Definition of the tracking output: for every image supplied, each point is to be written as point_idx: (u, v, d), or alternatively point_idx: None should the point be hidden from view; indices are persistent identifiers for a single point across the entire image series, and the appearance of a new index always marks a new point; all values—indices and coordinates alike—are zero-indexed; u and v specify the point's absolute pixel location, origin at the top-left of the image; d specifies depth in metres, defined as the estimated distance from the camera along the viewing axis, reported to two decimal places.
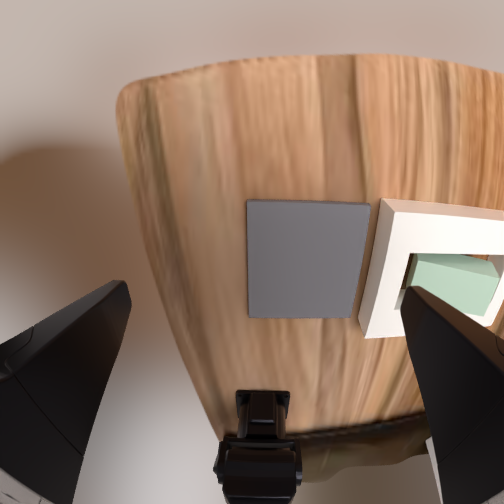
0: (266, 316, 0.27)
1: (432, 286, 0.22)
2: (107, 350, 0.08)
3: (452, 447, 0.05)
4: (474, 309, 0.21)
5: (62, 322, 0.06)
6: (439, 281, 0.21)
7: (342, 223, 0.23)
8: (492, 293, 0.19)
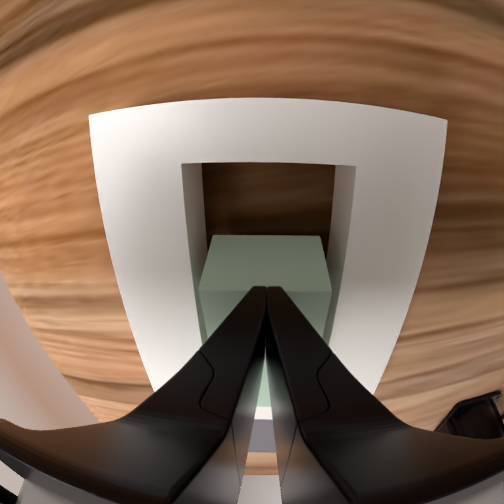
0: None
1: (264, 389, 0.12)
2: (261, 364, 0.07)
3: (282, 473, 0.05)
4: (309, 320, 0.10)
5: (239, 340, 0.06)
6: None
7: None
8: None
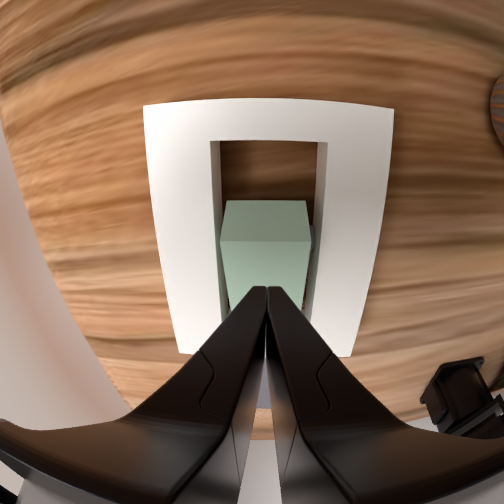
0: None
1: None
2: (261, 364, 0.07)
3: (282, 474, 0.05)
4: (296, 261, 0.14)
5: (239, 340, 0.06)
6: None
7: None
8: (254, 243, 0.13)
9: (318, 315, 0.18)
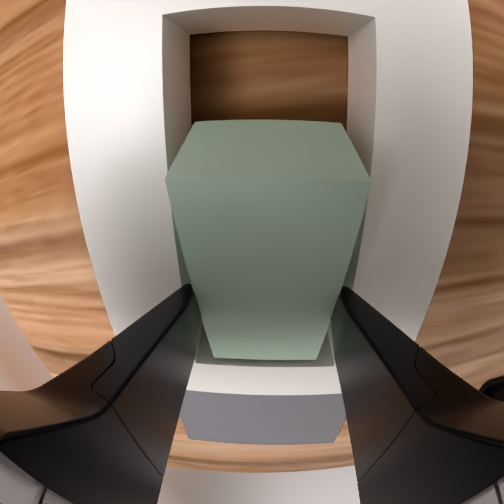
0: (335, 433, 0.18)
1: (266, 337, 0.10)
2: (186, 360, 0.08)
3: (367, 466, 0.05)
4: (334, 230, 0.06)
5: (148, 334, 0.06)
6: (248, 329, 0.10)
7: None
8: (242, 183, 0.06)
9: None
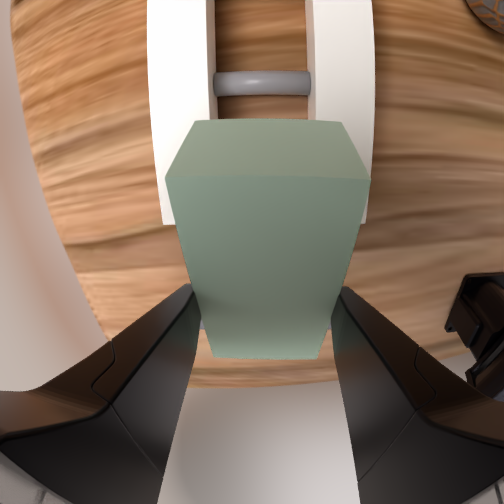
0: None
1: (266, 336, 0.10)
2: (186, 360, 0.08)
3: (367, 467, 0.05)
4: (334, 228, 0.06)
5: (148, 334, 0.06)
6: (248, 329, 0.10)
7: None
8: (242, 181, 0.06)
9: None
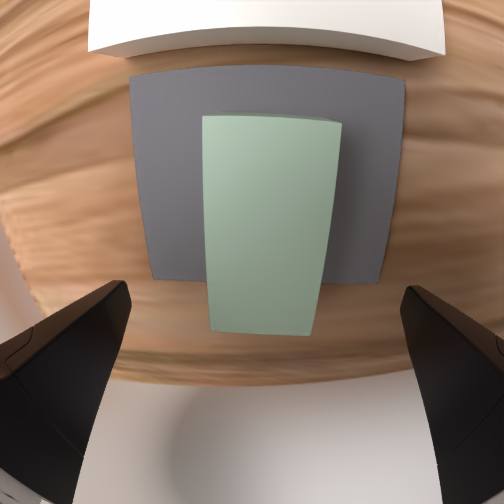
0: (380, 254, 0.13)
1: (264, 295, 0.11)
2: (107, 350, 0.08)
3: (452, 447, 0.05)
4: (319, 163, 0.09)
5: (62, 322, 0.06)
6: (247, 283, 0.11)
7: (167, 122, 0.11)
8: (255, 121, 0.08)
9: None
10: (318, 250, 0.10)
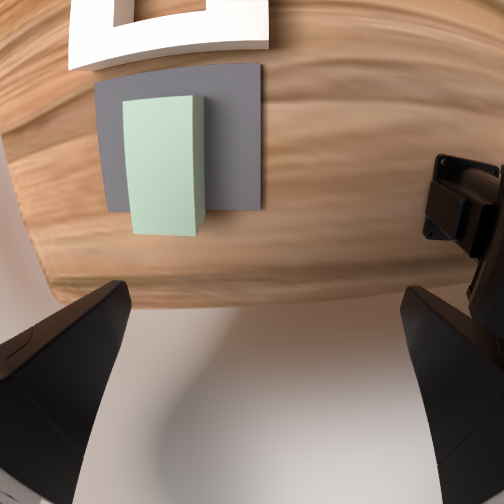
0: (257, 186, 0.19)
1: (161, 204, 0.17)
2: (107, 350, 0.08)
3: (451, 447, 0.05)
4: (181, 119, 0.14)
5: (62, 322, 0.06)
6: (151, 196, 0.17)
7: (115, 108, 0.17)
8: (147, 101, 0.14)
9: None
10: (188, 171, 0.16)
